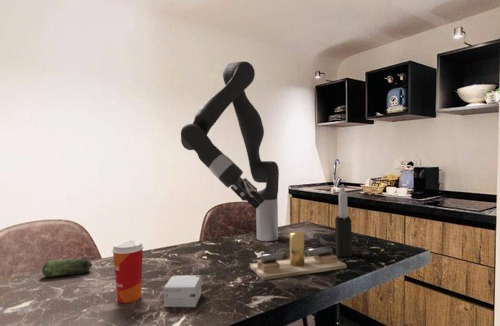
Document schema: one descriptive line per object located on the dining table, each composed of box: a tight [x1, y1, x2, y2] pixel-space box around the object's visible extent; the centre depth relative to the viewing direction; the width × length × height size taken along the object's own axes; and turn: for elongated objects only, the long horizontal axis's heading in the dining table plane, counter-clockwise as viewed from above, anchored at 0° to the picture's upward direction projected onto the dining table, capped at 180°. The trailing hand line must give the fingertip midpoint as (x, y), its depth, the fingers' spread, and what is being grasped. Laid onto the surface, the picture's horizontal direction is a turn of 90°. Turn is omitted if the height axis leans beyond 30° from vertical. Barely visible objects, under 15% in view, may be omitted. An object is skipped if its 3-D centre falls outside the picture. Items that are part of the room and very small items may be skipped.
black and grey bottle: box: [334, 184, 353, 258], centre depth 116 cm, size 5×5×25 cm
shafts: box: [260, 246, 333, 263], centre depth 103 cm, size 2×24×2 cm, turn 108°
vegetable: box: [41, 257, 93, 278], centre depth 102 cm, size 14×5×5 cm, turn 108°
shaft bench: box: [249, 253, 348, 281], centre depth 104 cm, size 12×28×3 cm, turn 108°
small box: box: [163, 274, 202, 308], centre depth 82 cm, size 8×8×5 cm
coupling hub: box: [289, 230, 306, 267], centre depth 104 cm, size 5×5×10 cm
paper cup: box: [111, 240, 145, 304], centre depth 83 cm, size 8×8×14 cm
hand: (260, 204), depth 107 cm, fingers open, 8 cm apart
